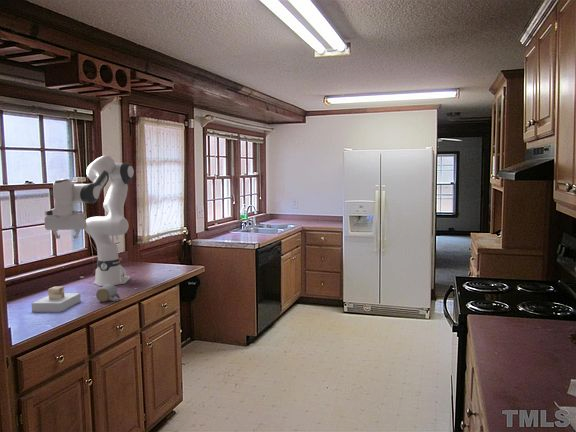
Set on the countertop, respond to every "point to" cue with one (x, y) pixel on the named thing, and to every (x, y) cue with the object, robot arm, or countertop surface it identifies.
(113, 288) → the ceramic mug
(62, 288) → the birch cube
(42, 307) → the grey platform
